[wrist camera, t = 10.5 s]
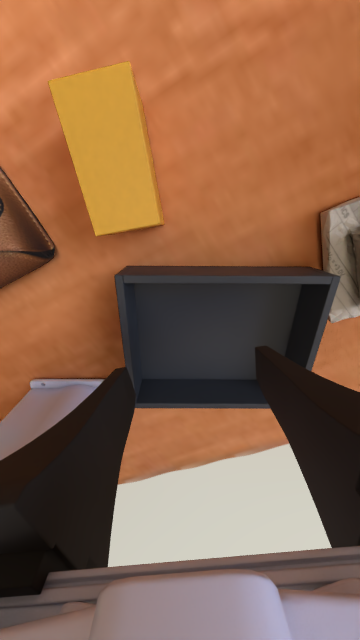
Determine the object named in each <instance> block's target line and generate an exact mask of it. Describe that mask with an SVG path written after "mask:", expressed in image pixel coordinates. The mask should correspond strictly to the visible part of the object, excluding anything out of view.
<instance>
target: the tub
mask: <svg viewBox="0 0 360 640" xmlns="http://www.w3.org/2000/svg"><path fill="white" fill-rule="evenodd" d="M340 278H341V276H338V275H335V274H331V273H328V272H325V271H321V270H318V269H315V268H312V267H248V266H127V267H125V268H124V269H123V270H121V271H120V272H119V273H117V274H116V275H115V284H116V292H117V301H118V309H119V317H120V325H121V334H122V342H123V350H124V358H125V366H126V367H127V369H128V372H129V375H130V378H131V381H132V384H133V387H134V390H135V393H136V401H135V408H270V406H269V404H268V402H267V401H266V399H265V397H264V395H263V393H262V391H261V388H260V386H259V383H258V381H257V378H256V362H255V347H259V346H268V347H270V348H272V349H273V350H275V351H276V352H278V353H280V354H281V355H283V356H284V357H286V358H288V359H289V360H291V361H293V362H295V363H296V364H298V365H300V366H302V367H303V368H305V369H307V370H309V371H311V370H312V367H313V364H314V361H315V357H316V354H317V351H318V348H319V345H320V342H321V338H322V335H323V332H324V329H325V326H326V323H327V319H328V316H329V313H330V310H331V307H332V304H333V301H334V297H335V294H336V291H337V288H338V285H339V282H340Z"/></svg>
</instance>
